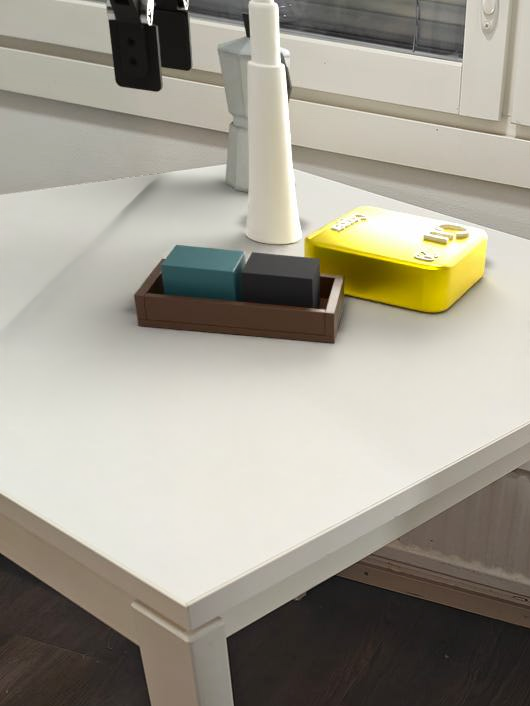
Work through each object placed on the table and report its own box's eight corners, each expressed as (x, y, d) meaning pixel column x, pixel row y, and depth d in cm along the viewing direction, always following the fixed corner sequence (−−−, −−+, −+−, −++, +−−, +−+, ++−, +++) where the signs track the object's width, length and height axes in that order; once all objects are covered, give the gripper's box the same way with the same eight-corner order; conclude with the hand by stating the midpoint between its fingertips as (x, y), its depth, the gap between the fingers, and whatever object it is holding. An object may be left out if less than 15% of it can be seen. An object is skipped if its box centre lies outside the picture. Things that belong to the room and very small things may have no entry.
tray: (138, 325, 76) (133, 295, 74) (165, 287, 83) (162, 258, 81) (334, 343, 77) (334, 313, 75) (344, 303, 84) (344, 275, 83)
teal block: (166, 312, 77) (160, 264, 74) (181, 290, 81) (175, 244, 79) (236, 318, 77) (233, 271, 75) (247, 296, 82) (244, 251, 79)
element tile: (360, 245, 98) (360, 198, 95) (488, 272, 95) (493, 225, 92) (297, 285, 87) (295, 233, 84) (441, 317, 84) (445, 265, 81)
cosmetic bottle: (244, 243, 95) (227, -11, 80) (246, 225, 99) (231, -18, 85) (302, 246, 96) (295, -4, 82) (301, 229, 100) (295, -11, 86)
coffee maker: (208, 173, 114) (193, 1, 102) (272, 170, 118) (265, 5, 106) (255, 206, 105) (245, 23, 93) (323, 202, 109) (321, 26, 98)
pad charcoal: (244, 319, 78) (240, 272, 75) (254, 296, 82) (251, 251, 79) (313, 325, 78) (312, 279, 75) (320, 303, 82) (319, 258, 80)
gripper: (108, -229, 63) (136, 54, 74) (18, -260, 50) (69, 90, 61) (215, -210, 64) (228, 68, 75) (155, -236, 51) (180, 105, 62)
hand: (156, 77), depth 68 cm, fingers open, 9 cm apart
